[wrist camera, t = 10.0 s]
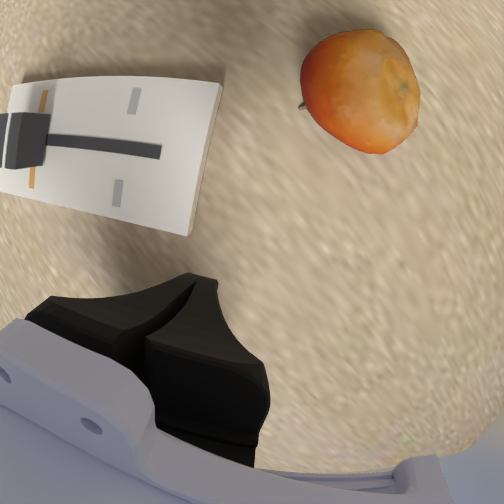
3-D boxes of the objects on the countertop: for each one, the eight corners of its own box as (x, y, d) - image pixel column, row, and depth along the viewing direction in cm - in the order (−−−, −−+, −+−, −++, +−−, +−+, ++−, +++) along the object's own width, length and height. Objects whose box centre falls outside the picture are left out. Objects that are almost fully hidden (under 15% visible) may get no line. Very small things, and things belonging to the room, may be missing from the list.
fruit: (281, 26, 15) (365, -5, 9) (359, 66, 19) (441, 64, 13) (257, 128, 18) (343, 134, 11) (342, 154, 22) (425, 173, 15)
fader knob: (50, 114, 18) (21, 112, 14) (42, 165, 19) (14, 170, 16) (26, 114, 18) (-1, 113, 14) (20, 162, 19) (-8, 166, 16)
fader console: (223, 88, 18) (219, 83, 17) (192, 231, 22) (186, 236, 20) (22, 86, 18) (11, 85, 17) (7, 188, 22) (-3, 191, 20)
